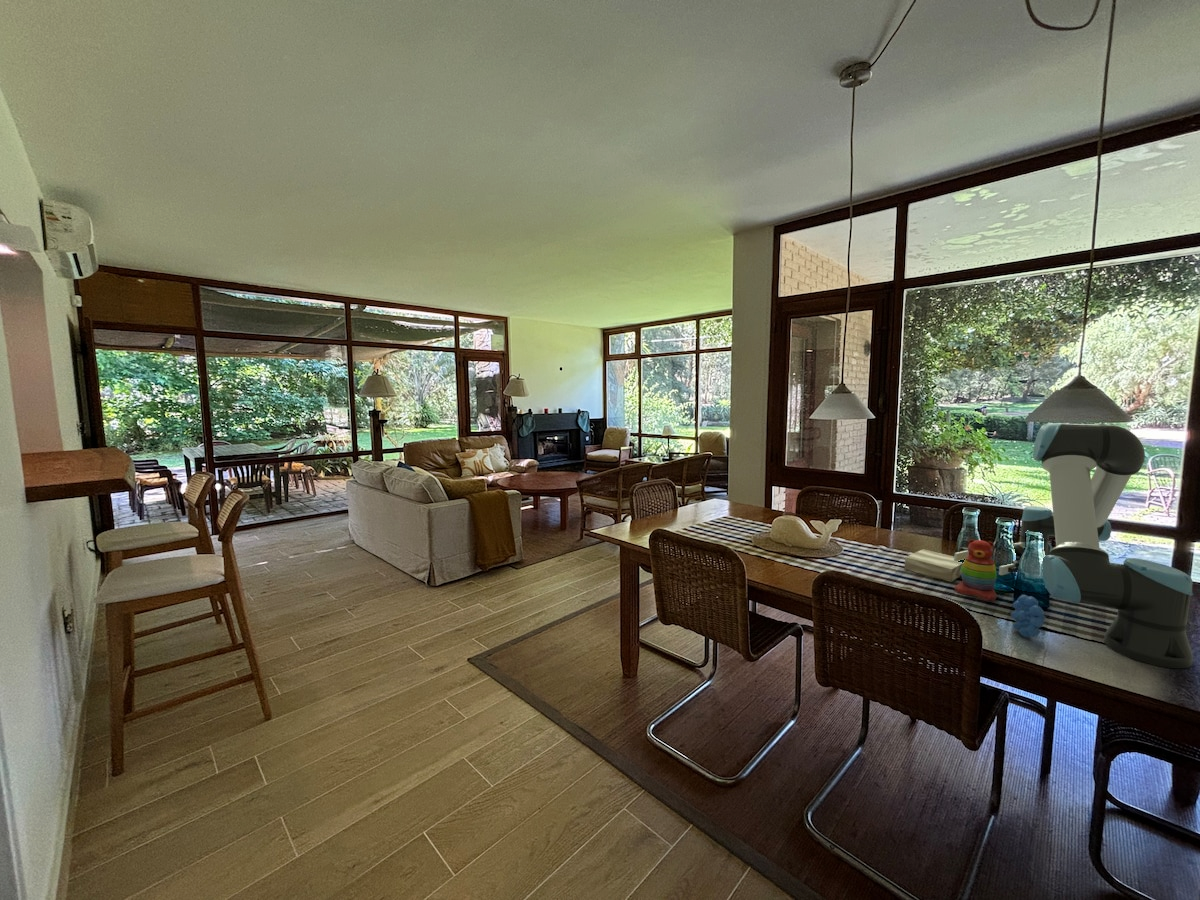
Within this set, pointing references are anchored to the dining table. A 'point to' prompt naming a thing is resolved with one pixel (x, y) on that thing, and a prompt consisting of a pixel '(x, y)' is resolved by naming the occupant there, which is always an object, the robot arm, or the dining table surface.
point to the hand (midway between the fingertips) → (977, 563)
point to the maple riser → (934, 565)
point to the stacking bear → (978, 571)
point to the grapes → (1027, 616)
